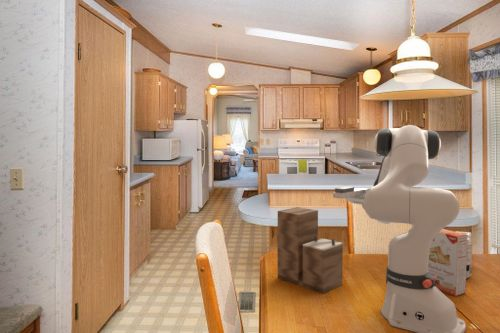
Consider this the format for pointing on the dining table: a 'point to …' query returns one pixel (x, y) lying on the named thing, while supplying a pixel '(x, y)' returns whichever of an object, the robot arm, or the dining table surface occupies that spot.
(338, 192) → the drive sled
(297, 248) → the stepped wooden blocks
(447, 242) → the cracker box
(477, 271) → the dining table surface
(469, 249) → the supplement can
